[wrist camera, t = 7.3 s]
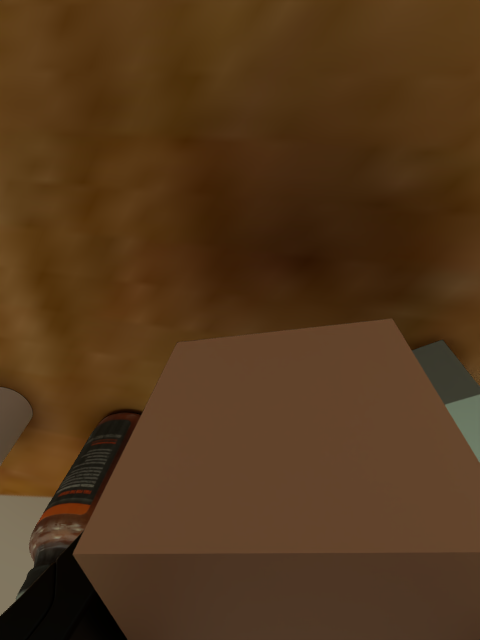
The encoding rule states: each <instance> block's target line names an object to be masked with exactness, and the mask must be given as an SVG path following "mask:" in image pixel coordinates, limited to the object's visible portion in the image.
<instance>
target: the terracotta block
mask: <svg viewBox="0 0 480 640" xmlns="http://www.w3.org/2000/svg"><path fill="white" fill-rule="evenodd" d="M73 556H74V557H75V559H76V561H77V562H78V564H79V565H80V567H81V568H82V570H83V571H84V573H85V574H86V576H87V578H88V579H89V581H90V582H91V584H92V585H93V587H94V588H95V590H96V592H97V593H98V595H99V596H100V598H101V599H102V601H103V602H104V604H105V605H106V607H107V609H108V610H109V612H110V613H111V615H112V616H113V618H114V619H115V621H116V623H117V624H118V626H119V627H120V629H121V630H122V632H123V633H124V635H125V636H126V638H127V640H480V462H479V461H478V459H477V457H476V456H475V454H474V452H473V451H472V449H471V447H470V446H469V444H468V443H467V441H466V439H465V438H464V436H463V434H462V433H461V431H460V429H459V428H458V426H457V424H456V423H455V421H454V419H453V418H452V416H451V415H450V413H449V411H448V410H447V408H446V406H445V405H444V403H443V401H442V400H441V398H440V396H439V395H438V393H437V392H436V390H435V388H434V387H433V385H432V383H431V382H430V380H429V378H428V377H427V375H426V373H425V372H424V370H423V368H422V367H421V365H420V364H419V362H418V360H417V359H416V357H415V355H414V354H413V352H412V350H411V349H410V347H409V345H408V344H407V342H406V341H405V339H404V337H403V336H402V334H401V332H400V331H399V329H398V327H397V326H396V324H395V322H394V321H393V319H384V320H375V321H366V322H357V323H348V324H339V325H330V326H321V327H312V328H303V329H294V330H285V331H275V332H266V333H257V334H248V335H239V336H230V337H221V338H212V339H203V340H194V341H185V342H177V344H176V346H175V348H174V350H173V352H172V354H171V356H170V358H169V360H168V362H167V364H166V366H165V368H164V370H163V372H162V374H161V376H160V378H159V380H158V382H157V384H156V386H155V388H154V390H153V392H152V394H151V396H150V398H149V401H148V403H147V405H146V407H145V409H144V411H143V413H142V415H141V417H140V419H139V421H138V423H137V425H136V427H135V429H134V431H133V433H132V435H131V437H130V439H129V441H128V443H127V445H126V447H125V449H124V451H123V453H122V455H121V457H120V459H119V461H118V463H117V465H116V467H115V469H114V471H113V473H112V475H111V477H110V479H109V481H108V483H107V485H106V487H105V489H104V491H103V493H102V495H101V497H100V499H99V501H98V503H97V506H96V508H95V510H94V512H93V514H92V516H91V518H90V520H89V522H88V524H87V526H86V528H85V530H84V532H83V534H82V536H81V538H80V540H79V542H78V544H77V546H76V548H75V550H74V552H73Z"/></svg>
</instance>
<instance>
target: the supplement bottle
mask: <svg viewBox="0 0 480 640" xmlns="http://www.w3.org/2000/svg"><path fill="white" fill-rule="evenodd" d="M140 417H141V415H139V414H135V413H117V414H113V415H110V416H108V417H106V418H104V419H103V420H102V421H101V422H100V423H99V424H98V425H97V427H96V428H95V429H94V431H93V432H92V434H91V436H90V437H89V439H88V440H87V442H86V444H85V445H84V447H83V449H82V450H81V452H80V454H79V455H78V457H77V459H76V460H75V462H74V464H73V465H72V467H71V469H70V470H69V472H68V473H67V475H66V477H65V478H64V480H63V482H62V483H61V485H60V487H59V488H58V490H57V491H56V493H55V495H54V497H53V498H52V500H51V501H50V503H49V504H48V506H47V508H46V509H45V511H44V513H43V515H42V517H41V518H40V520H39V522H38V523H37V525H36V526H35V529H34V530H33V533H32V535H31V538H30V543H29V549H30V553H31V557H32V559H33V561H34V568H33V569H31V570H30V571H29V573H28V575H27V578H26V580H25V582H24V584H23V586H22V587H21V589H20V591H19V593H18V595H17V597H16V600H17V599H18V598H19V597H20V596H21V595H22V594H23V593H24V592H25V591H26V590H27V589H28V588H29V587H30V586H31V585H32V584H33V583H34V582H35V581H36V580H37V579H38V578H39V577H40V576H41V575H42V574H43V572H44V571H45V570H46V569H47V568H48V567H49V566H50V565H51V564H52V563H53V562H56V560H57V558H58V557H59V556H60V555H61V554H62V553H63V552H64V551H65V549H66V548H67V547H68V546H69V545H70V544H71V543H72V542H73V541H74V540H75V539H76V538H77V537H78V536H79V535H80V534H81V533H82V532H83V531H84V529H85V528H86V526H87V524H88V522H89V520H90V518H91V516H92V514H93V512H94V510H95V508H96V506H97V503H98V501H99V499H100V497H101V495H102V493H103V491H104V489H105V487H106V485H107V483H108V481H109V479H110V477H111V475H112V473H113V471H114V469H115V467H116V465H117V463H118V461H119V459H120V457H121V455H122V453H123V451H124V449H125V447H126V445H127V443H128V441H129V439H130V437H131V435H132V433H133V431H134V429H135V427H136V425H137V423H138V421H139V419H140Z"/></svg>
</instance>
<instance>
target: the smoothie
mask: <svg viewBox="0 0 480 640" xmlns="http://www.w3.org/2000/svg"><path fill="white" fill-rule="evenodd" d="M32 415H33V412H32V408H31V406H30V404H29V402H28V401H27V400H26V399H25V398H24V397H23V396H22V395H20V394H19V393H17V392H16V391H14V390H11V389H8V388H3V387H0V465H1V464H2V462H3V461H4V459H5V458H6V456H7V455H8V453H9V452H10V450H11V449H12V447H13V446H14V444H15V443H16V441H17V440H18V438H19V437H20V435H21V434H22V432H23V431H24V429H25V428H26V426H27V425H28V423H29V421H30V420H31V418H32Z"/></svg>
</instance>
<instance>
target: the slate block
mask: <svg viewBox="0 0 480 640" xmlns="http://www.w3.org/2000/svg"><path fill="white" fill-rule="evenodd" d="M412 352H413V354H414V355H415V357H416V359H417V360H418V362H419V364H420V365H421V367H422V368H423V370H424V372H425V373H426V375H427V377H428V378H429V380H430V382H431V383H432V385H433V387H434V388H435V390H436V392H437V393H438V395H439V396H440V398H441V400H442V401H443V403H444V405H445V406H446V408H447V410H448V411H449V413H450V415H451V416H452V418H453V419H454V421H455V423H456V424H457V426H458V428H459V429H460V431H461V433H462V434H463V436H464V438H465V439H466V441H467V443H468V444H469V446H470V447H471V449H472V451H473V452H474V454H475V456H476V457H477V459H478V461H479V462H480V386H479V385H478V384H477V383H476V381H475V380H474V379H473V378H472V376H471V375H470V374H469V373H468V371H467V370H466V369H465V368H464V366H463V365H462V364H461V362H460V361H459V360H458V359H457V357H456V356H455V355H454V354H453V352H452V351H451V350H450V349H449V347H448V346H447V345H446V343H445V342H444V341H443V340H440V341H438V342H435V343H432V344H429V345H426V346H423V347H420V348H418V349H415V350H412Z"/></svg>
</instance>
